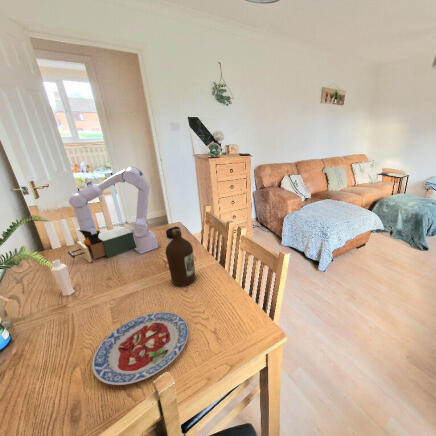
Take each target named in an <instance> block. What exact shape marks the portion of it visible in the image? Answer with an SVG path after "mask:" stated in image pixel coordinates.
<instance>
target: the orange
mask: <svg viewBox="0 0 436 436" xmlns="http://www.w3.org/2000/svg"><path fill="white" fill-rule="evenodd" d="M98 242H99V239H98ZM85 243H86V244H87V245H88V246H91V245H92V244H91V242H90V241H89V239H88V238H85ZM85 243H84V244H85Z"/></svg>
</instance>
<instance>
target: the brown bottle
mask: <svg viewBox="0 0 436 436" xmlns="http://www.w3.org/2000/svg"><path fill="white" fill-rule="evenodd" d="M180 231H181V228H180V229H174V230H172V236H173V239H172V241H171V242H170V243H169V244H168V243H167V245H166V247H165V257H166V260H167V261H166V262H167V265H168V268H169V273H170V277H171V282H172V285H173V286H175V287H179V288H181V287H186V286H189V285H191V284H192V283H194V282H195V280H196V272H195V271H196V266H195V258H194V248H193V245H192V243H191V242H190V241H189V240H187V239H185V238H184V237H183V235H182V231H181V232H180Z"/></svg>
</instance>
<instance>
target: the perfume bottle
mask: <svg viewBox="0 0 436 436" xmlns="http://www.w3.org/2000/svg"><path fill="white" fill-rule="evenodd" d="M52 264H53V267H52V268H51V269H50V272H51V274H52V276H53V277H54V280H55V281H56V283H57V285H58V286H59V288H60V291H61V292H62V296H63V297H65V296H70V295H72V294H73V293H75V292H76V291H75V289H74V288H73V284H72V280H71V276H70V272H69V269H68V266H67V265H66V264H64V263H61V260H60V259H56V260H53V261H52ZM54 266H55V267H54Z"/></svg>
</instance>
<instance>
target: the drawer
mask: <svg viewBox="0 0 436 436" xmlns="http://www.w3.org/2000/svg"><path fill="white" fill-rule="evenodd" d="M85 240H86V239H85ZM85 240H83V242H82V241H81V240H77V241H76V243H77V247H78V249H75V250H72V251H71V250H68V251H67V254H68V256H70V258H72V259H75V258H76V257H78V256H82V258H84V259H85V260H86V261H87V262H88V263H91V262H93V260H92V258H93V259H94V260H96V259H99V258H102V257H106V256H105V255H107V254H106V251H105V248H104V244H103V242H102V241H101V240H99V242H98V243H97V244H94V245H91V246H88V245H87V244H86V243H85ZM76 252H80V253H76ZM75 253H76V254H75Z"/></svg>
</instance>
